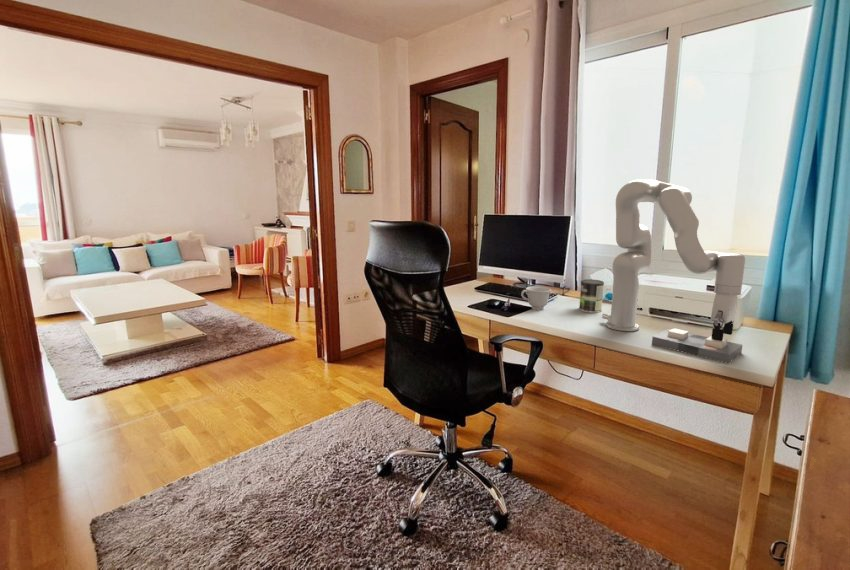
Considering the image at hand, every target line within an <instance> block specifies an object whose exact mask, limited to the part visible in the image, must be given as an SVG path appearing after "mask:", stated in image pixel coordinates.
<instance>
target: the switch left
mask: <svg viewBox="0 0 850 570" xmlns="http://www.w3.org/2000/svg"><path fill="white" fill-rule="evenodd" d="M688 333H689V330H685V329H684V330H683V329H679V328H675V327H674V328H672V330H670V331H668V337H672V338H677V339H681V340H684V339H686V338H688Z"/></svg>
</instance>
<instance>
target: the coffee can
mask: <svg viewBox="0 0 850 570" xmlns="http://www.w3.org/2000/svg"><path fill="white" fill-rule="evenodd" d="M604 285H605V282H604V281H603V280H600V279H599V280H598V279H593V278H592V279H588V278H587V279H581V280H580V294H579V295H580V296H579V305H578V306H579V307H578V309H579V311H581V312H585V313H590V314H594V313H600V312H602V311H603V310H602V308H603V298H604V297H603V296H604Z"/></svg>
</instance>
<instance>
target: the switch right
mask: <svg viewBox="0 0 850 570" xmlns="http://www.w3.org/2000/svg"><path fill="white" fill-rule="evenodd" d="M707 337H708V336H707ZM727 342H728V339H726V338H723V340H722V341H719V340H714V339H712V335H710V336H709V337H708V338H707V339H705V345H707V346H711V347H716V348H720V349H723V348H724V347H726V345H727Z"/></svg>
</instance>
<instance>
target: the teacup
mask: <svg viewBox="0 0 850 570" xmlns="http://www.w3.org/2000/svg"><path fill="white" fill-rule="evenodd" d="M551 291H552V289H551V288H550V287H547V286H542V285H541V286H540V285H539V286H538V285H537V286H536V285H533V286H528V287H526V288H525V289H523V290H522V291H521V294H520V295H521V296H520V297H522V299H523V300H525V301H526V300H527V301H528V304H529V306H531V309H532V310H535V311H542V310H544V307H545V306H547V305H548V302H549V297H550V292H551ZM524 293H525V294H526V295H527V297H526V296H525V295H524Z"/></svg>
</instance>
